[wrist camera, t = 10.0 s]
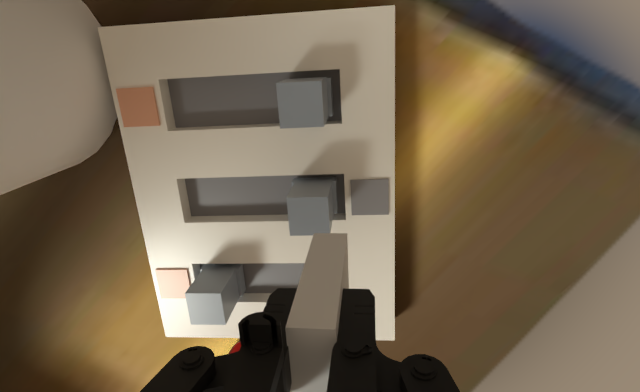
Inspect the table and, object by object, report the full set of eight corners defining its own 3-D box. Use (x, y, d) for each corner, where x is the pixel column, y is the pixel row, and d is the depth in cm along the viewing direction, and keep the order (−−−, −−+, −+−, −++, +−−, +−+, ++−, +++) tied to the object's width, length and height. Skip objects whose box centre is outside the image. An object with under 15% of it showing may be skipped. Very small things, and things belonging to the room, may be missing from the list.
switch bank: (178, 318, 43) (164, 338, 40) (119, 29, 33) (95, 27, 30) (392, 320, 40) (394, 341, 37) (392, 9, 31) (395, 4, 28)
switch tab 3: (296, 210, 35) (285, 235, 30) (293, 176, 34) (282, 197, 30) (338, 209, 35) (334, 235, 30) (336, 175, 34) (332, 196, 29)
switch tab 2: (288, 117, 33) (275, 128, 28) (285, 78, 32) (271, 83, 27) (333, 115, 32) (328, 126, 27) (331, 75, 31) (325, 80, 26)
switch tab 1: (209, 290, 39) (187, 324, 34) (204, 262, 38) (181, 293, 33) (246, 290, 39) (229, 324, 34) (242, 261, 38) (224, 293, 33)
